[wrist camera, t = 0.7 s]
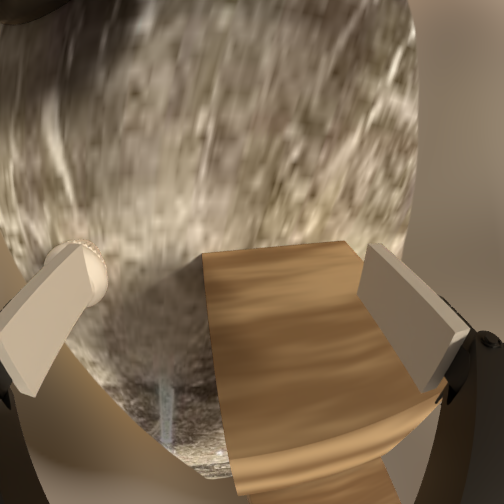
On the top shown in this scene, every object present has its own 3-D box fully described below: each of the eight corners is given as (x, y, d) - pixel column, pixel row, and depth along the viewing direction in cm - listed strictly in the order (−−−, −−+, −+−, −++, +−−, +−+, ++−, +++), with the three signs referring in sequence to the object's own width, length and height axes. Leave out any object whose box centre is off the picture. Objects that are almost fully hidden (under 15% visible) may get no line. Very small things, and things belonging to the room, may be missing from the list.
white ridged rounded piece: (51, 226, 21) (17, 270, 15) (109, 221, 22) (85, 267, 16) (67, 282, 24) (45, 332, 18) (121, 280, 25) (107, 334, 19)
